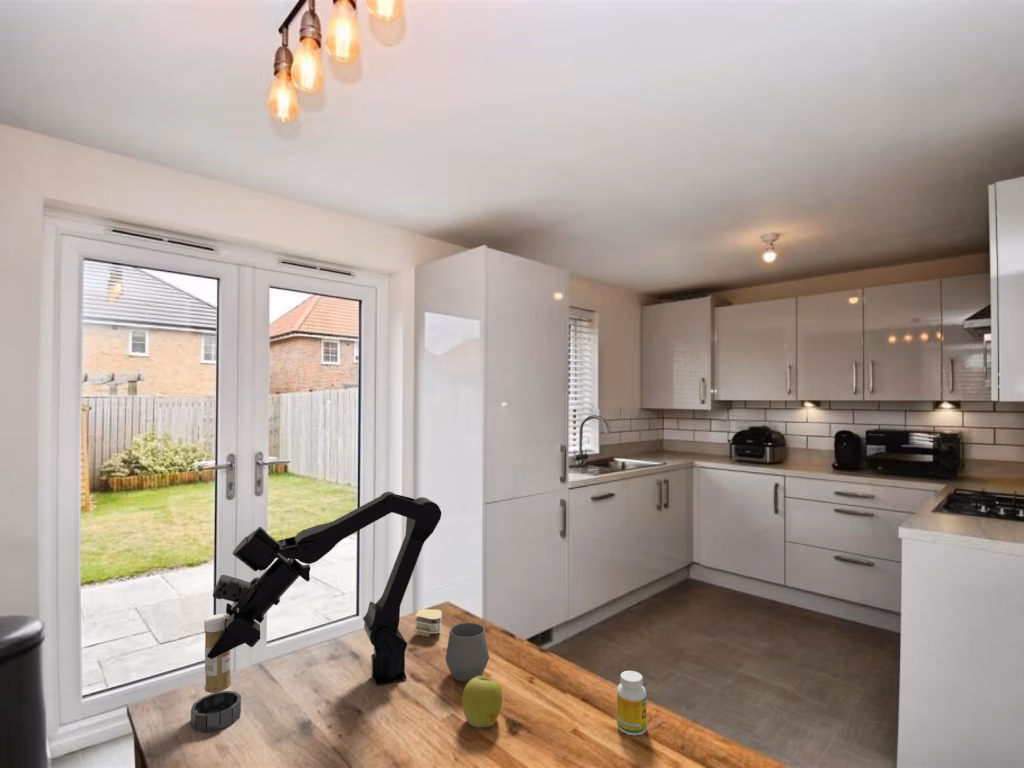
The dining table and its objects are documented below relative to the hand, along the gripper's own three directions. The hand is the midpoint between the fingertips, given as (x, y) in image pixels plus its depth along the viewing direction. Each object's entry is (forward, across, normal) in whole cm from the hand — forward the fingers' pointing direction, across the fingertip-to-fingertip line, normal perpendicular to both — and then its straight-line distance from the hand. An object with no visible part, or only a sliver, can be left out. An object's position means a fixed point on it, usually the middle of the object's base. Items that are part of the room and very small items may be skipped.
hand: (209, 652), depth 104 cm
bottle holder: (+8, +1, +10) cm, 12 cm away
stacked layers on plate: (-25, -16, +44) cm, 53 cm away
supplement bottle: (-40, +38, +59) cm, 81 cm away
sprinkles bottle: (+4, 0, +6) cm, 7 cm away
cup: (-26, +7, +44) cm, 52 cm away
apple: (-24, +24, +42) cm, 54 cm away
